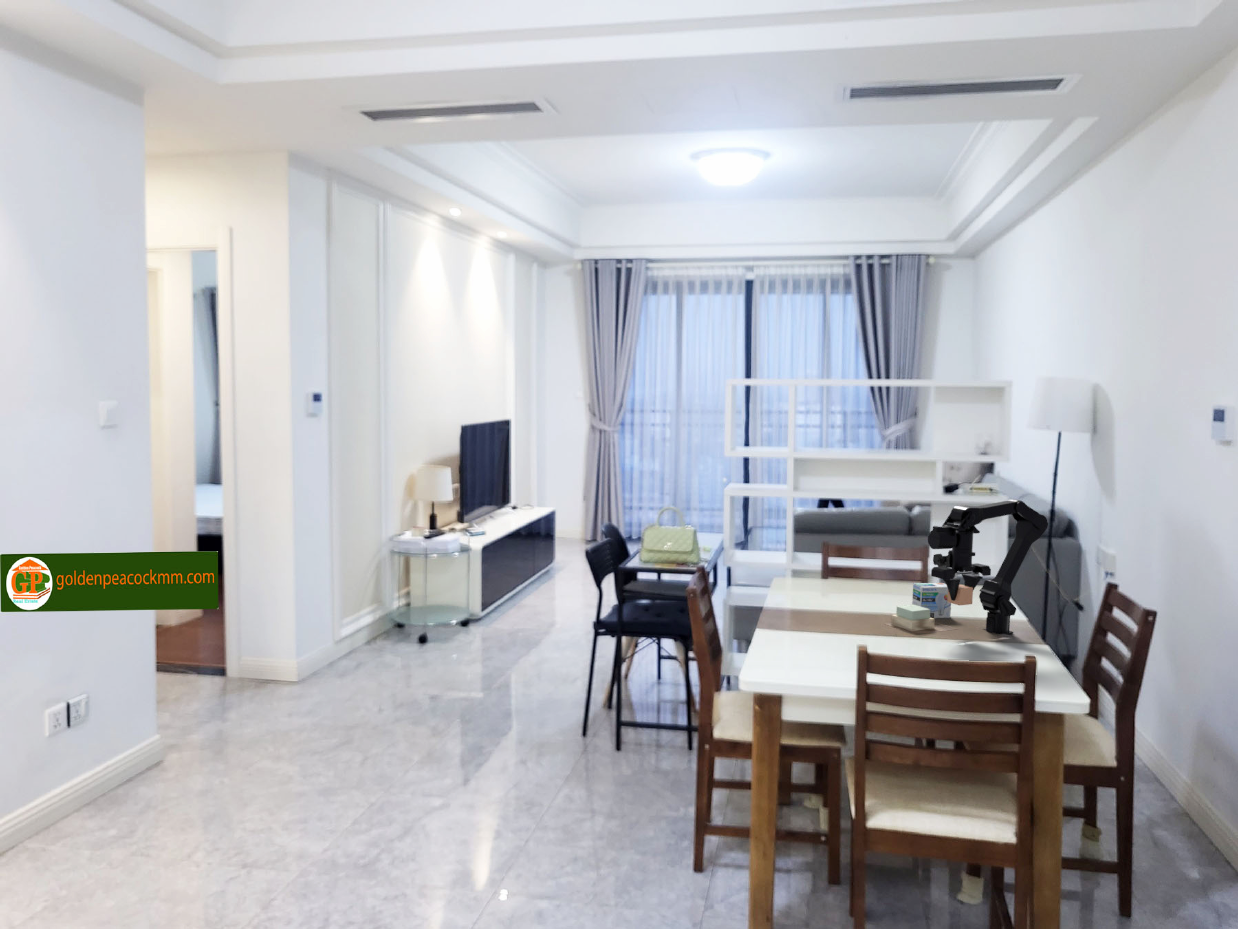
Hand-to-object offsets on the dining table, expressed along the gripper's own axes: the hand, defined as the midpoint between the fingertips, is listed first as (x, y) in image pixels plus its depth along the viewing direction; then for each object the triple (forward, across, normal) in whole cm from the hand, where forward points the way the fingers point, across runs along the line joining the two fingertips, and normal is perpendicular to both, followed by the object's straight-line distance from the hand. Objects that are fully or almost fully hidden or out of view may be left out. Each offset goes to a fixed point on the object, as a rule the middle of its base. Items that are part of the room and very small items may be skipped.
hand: (959, 599), depth 290 cm
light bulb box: (+11, -9, -21) cm, 25 cm away
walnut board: (+11, +4, -11) cm, 16 cm away
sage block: (+7, +7, -12) cm, 16 cm away
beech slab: (+10, +7, -12) cm, 17 cm away
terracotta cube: (+1, 0, 0) cm, 1 cm away
